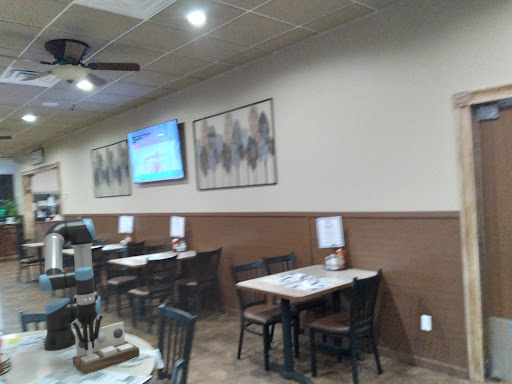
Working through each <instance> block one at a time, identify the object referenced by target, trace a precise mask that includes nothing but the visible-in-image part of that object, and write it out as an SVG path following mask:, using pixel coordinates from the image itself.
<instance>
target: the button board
mask: <svg viewBox="0 0 512 384" xmlns="http://www.w3.org/2000/svg"><path fill="white" fill-rule="evenodd" d="M128 343H129V344H131V345H133V346H134V348H133V349H130V350H127V351H124V352H119V351H118V350H117V354H115V355H111V356H108V357H105V358H103V357H101V356H100V355H99V351H97V352H93V354H94V353H95V354H96V355H98V356H99V360H96V361H93V362H89V363H86V364H84V363H83V362H81V357H84V356H87V355H84V356H80V357H77V355H74V356H72V359H71V360H72V366H73V368H75V369H76V370H77V371H79V373H80V374H82V373H83V374H84V375H83V374H82V375H83V376H86V375H89V374H92V373H95V372H97V371H101V370H104V369H107V368H111V367H112V366H116V365H118V364H121V363H125V362H128V361H131V360H133V359H132V358H134V359H136V358H135V357H137V358H139V357H138V356H140V355H141V354H140V347H138V346H136V345H134V344H132V343H130V342H128V341H126V340H125V343H123V344H120V345H117V346H113V347H115V348H116V347H118V346H122V345H125V344H128ZM130 359H131V360H130ZM127 360H128V361H127ZM91 372H92V373H91ZM88 373H89V374H88ZM85 374H86V375H85Z"/></svg>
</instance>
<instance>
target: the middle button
mask: <svg viewBox="0 0 512 384" xmlns="http://www.w3.org/2000/svg"><path fill="white" fill-rule="evenodd" d="M115 354H117V348H115V347H113V346H109V347H106V348H103V349H100V350H99V355H100V356H101V357H103V358H105V357H108V356H111V355H115Z"/></svg>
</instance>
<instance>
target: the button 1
mask: <svg viewBox="0 0 512 384" xmlns="http://www.w3.org/2000/svg"><path fill="white" fill-rule="evenodd" d="M96 360H99V356H98V355H96V354H95V353H94V354H93V357H91V358H89V357H87V356H84V357H81V362H83V363H84V364H86V363H89V362H93V361H96Z"/></svg>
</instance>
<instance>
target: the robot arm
mask: <svg viewBox="0 0 512 384" xmlns="http://www.w3.org/2000/svg"><path fill="white" fill-rule="evenodd" d="M96 239H97V236H96V230H95V226H94V221H93V220H92V219H91V218H80V219H70V220H61V221H60V220H59V221H57V222H55V223H53V224H52V225H50V226H49V228H47V229H46V231H45V233H44V236H43V245H44V247H45V249H44V255H45V256H44V274H41V275H39V277H38V284H39V285H38V287H39V291H40V292H42V293H43V292H51V291H58V290H65V289H73V288H75V295H74V296H73V299H70V297H63V298H59V299H55V300H53V301H51V302H48V303H47V304H46V306H45V313H44V314H45V322H46V336H45V339H44V342H43V343H44V344H43V347H44V350H45V349H46V350H47V351H59V350H62V349H66V348H69V347H72V346H74V345H76V339H75V334H77V336H78V339H79V341H80V342H81V343H84V349H85V350H87V357H89V358H91V357H93V353H92V349H93V348H94V341H95V339H97V338H98V335H99V329H100V328H101V322H102V320H103V315H101V314H100V313H101V296H100V295H98V291H97V292H96V291H95V281H94V279H95V277H94V274H95V273H94V269H93V260H92V259H93V257H92V245H93V244H94V241H95V240H96ZM65 243H69V245H70V247H72V248H73V258H74V270H70V271H63V268H64V267H63V264H64V263H63V245H64V244H65ZM94 321H95V322H94ZM79 323H80V324H81V326H82V327H81V328H82V331H81V329H80V326H79ZM94 323H95V324H94ZM72 326H73V327H74V329H75V332H76V333H75V332H74V330H73V327H72ZM94 329H95V330H94ZM93 330H94V331H93ZM87 331H89V339H90V341H88V332H87ZM82 332H83V337H82V334H81V333H82ZM46 350H45V351H46Z"/></svg>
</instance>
